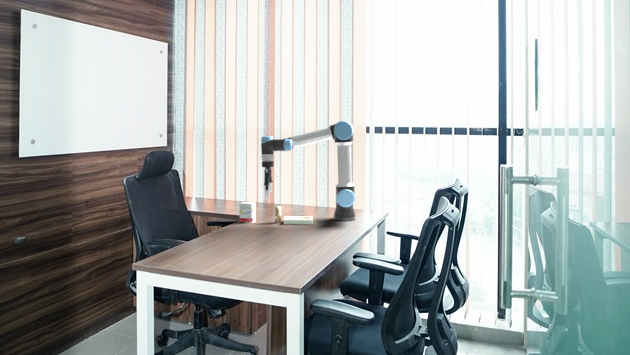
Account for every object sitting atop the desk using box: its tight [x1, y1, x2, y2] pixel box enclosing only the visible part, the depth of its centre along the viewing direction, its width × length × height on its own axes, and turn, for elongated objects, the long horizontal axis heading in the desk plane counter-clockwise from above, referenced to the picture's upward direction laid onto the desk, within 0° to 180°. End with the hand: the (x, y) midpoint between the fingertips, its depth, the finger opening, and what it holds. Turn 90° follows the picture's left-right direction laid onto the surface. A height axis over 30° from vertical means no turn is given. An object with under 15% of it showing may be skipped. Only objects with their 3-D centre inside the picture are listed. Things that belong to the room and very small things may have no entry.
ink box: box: [239, 201, 257, 222], centre depth 312 cm, size 9×9×12 cm
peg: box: [274, 206, 282, 224], centre depth 309 cm, size 4×4×10 cm
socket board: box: [283, 215, 314, 226], centre depth 309 cm, size 18×12×3 cm, turn 89°
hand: (268, 194), depth 309 cm, fingers open, 13 cm apart
